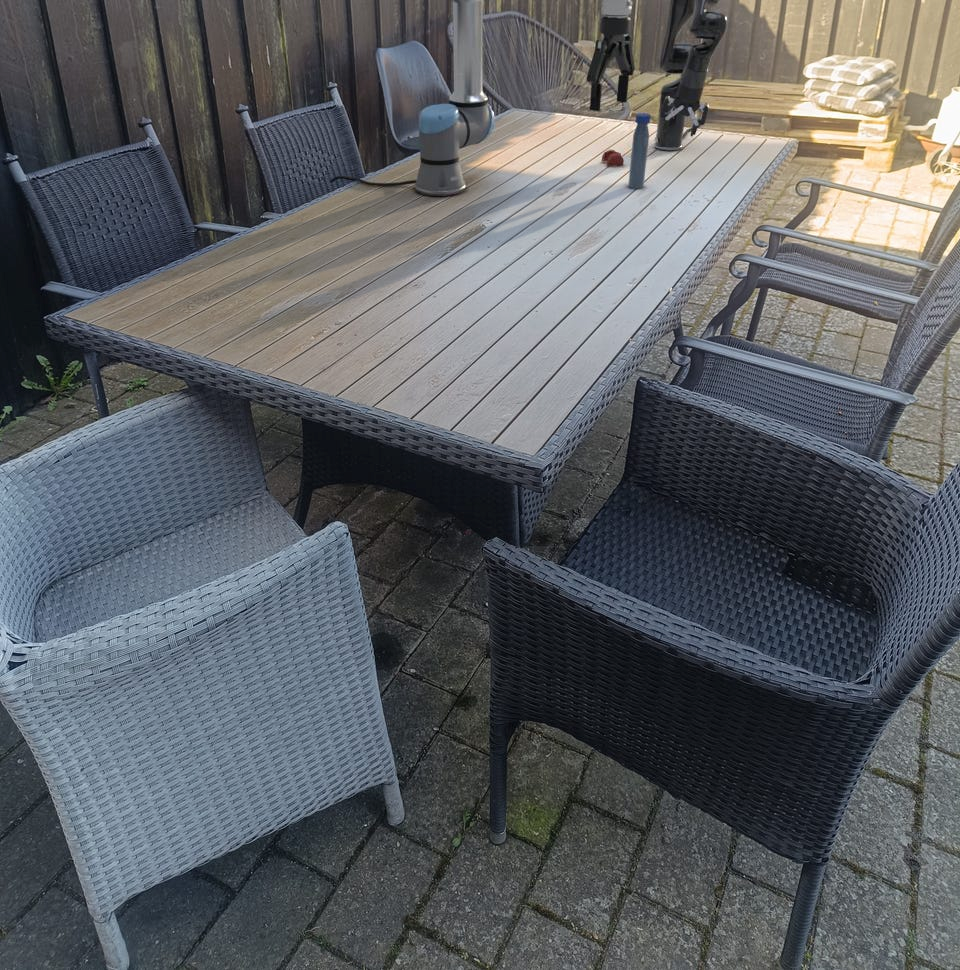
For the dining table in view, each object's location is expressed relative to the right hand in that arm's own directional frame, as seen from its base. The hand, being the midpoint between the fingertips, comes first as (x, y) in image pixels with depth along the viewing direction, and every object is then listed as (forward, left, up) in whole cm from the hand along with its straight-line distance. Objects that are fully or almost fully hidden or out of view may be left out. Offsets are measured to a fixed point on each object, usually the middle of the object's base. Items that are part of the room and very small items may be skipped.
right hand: (678, 133), depth 272 cm
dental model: (+3, -20, -11) cm, 23 cm away
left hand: (+53, -11, +17) cm, 56 cm away
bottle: (+26, -7, -11) cm, 29 cm away
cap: (+26, -7, +10) cm, 28 cm away
